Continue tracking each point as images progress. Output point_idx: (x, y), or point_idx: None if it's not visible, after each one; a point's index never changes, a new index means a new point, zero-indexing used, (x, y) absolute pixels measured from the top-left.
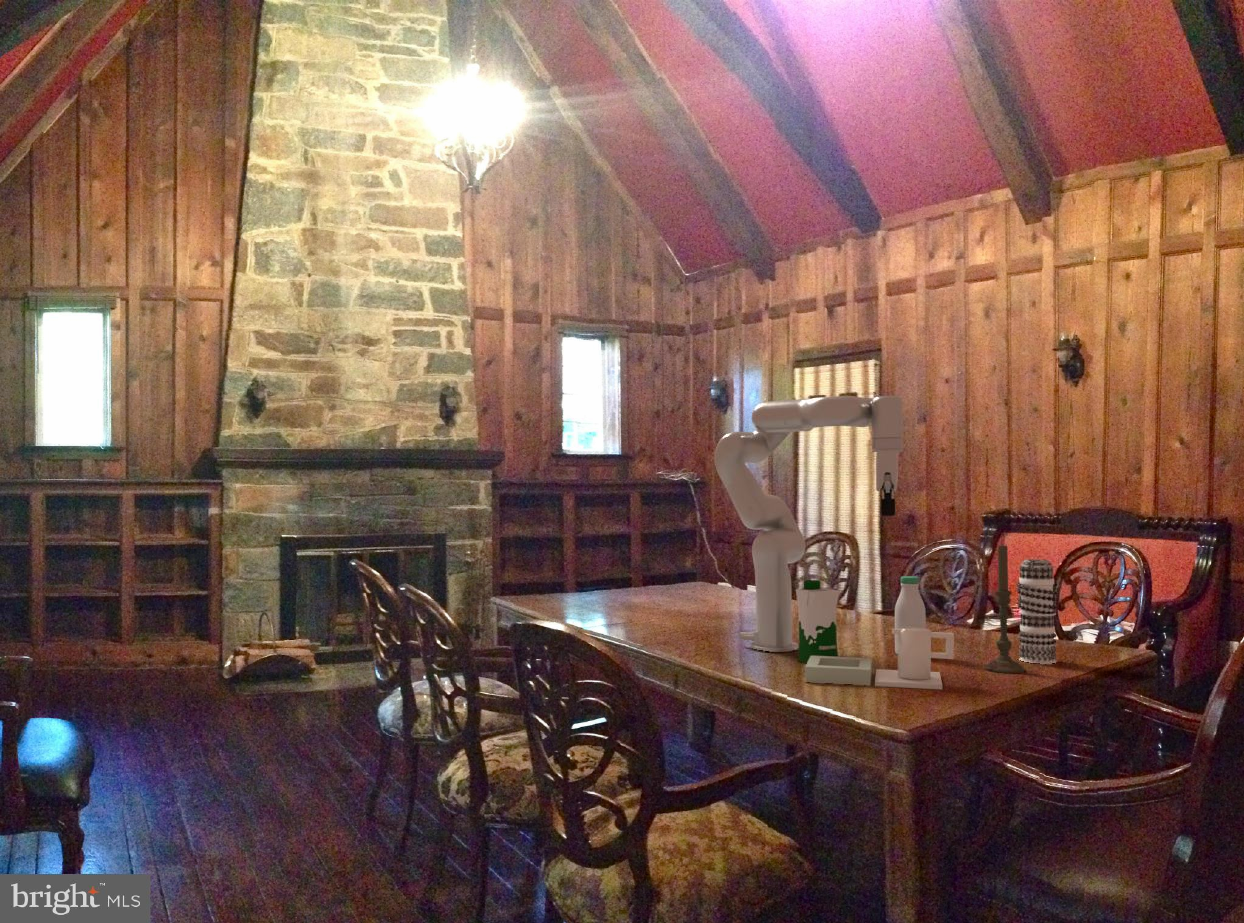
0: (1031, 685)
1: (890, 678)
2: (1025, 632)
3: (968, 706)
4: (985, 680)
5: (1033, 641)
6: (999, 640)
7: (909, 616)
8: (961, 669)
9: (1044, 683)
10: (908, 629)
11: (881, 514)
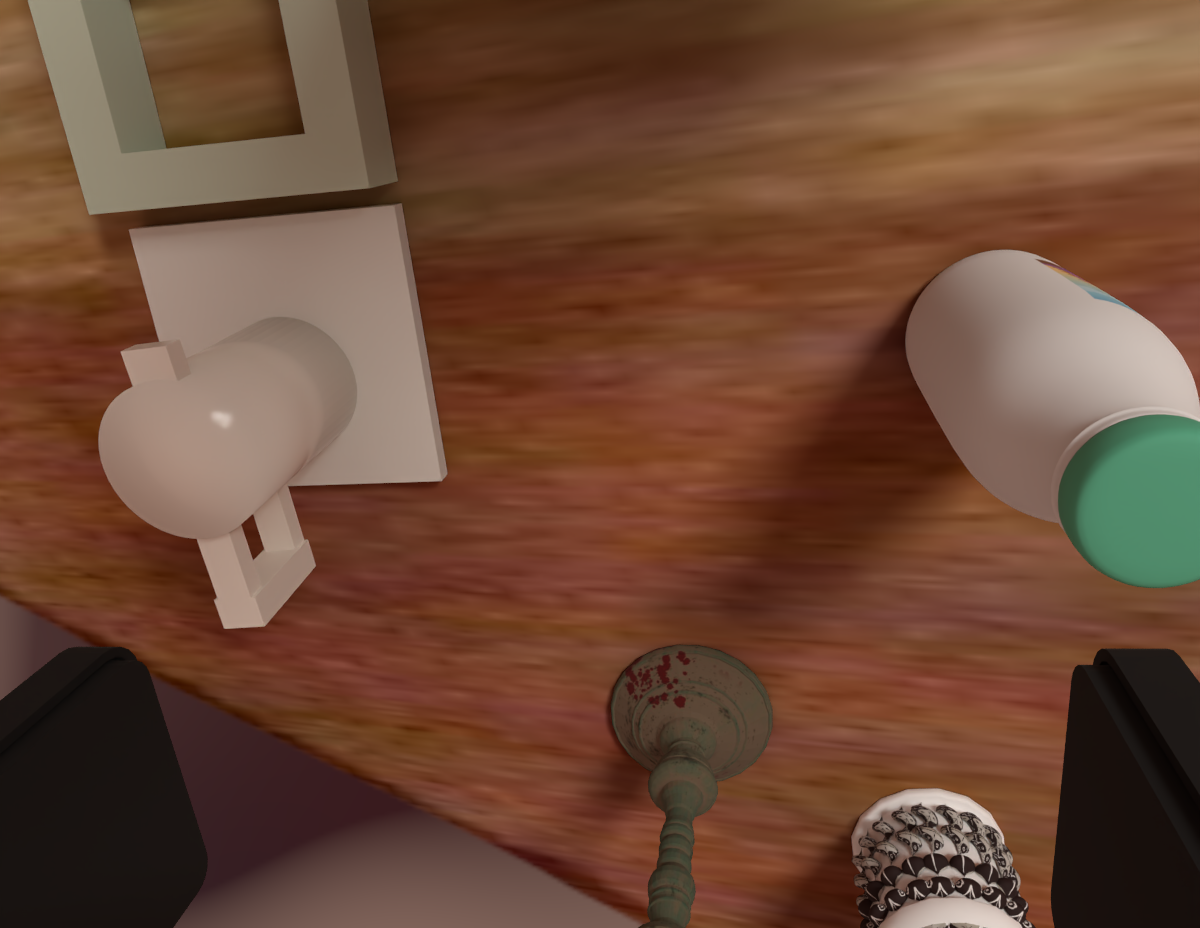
0: (418, 759)
1: (217, 289)
2: (908, 906)
3: (8, 554)
4: (442, 630)
5: (871, 899)
6: (672, 780)
7: (944, 400)
8: (637, 559)
9: (470, 800)
10: (149, 433)
11: (69, 652)
